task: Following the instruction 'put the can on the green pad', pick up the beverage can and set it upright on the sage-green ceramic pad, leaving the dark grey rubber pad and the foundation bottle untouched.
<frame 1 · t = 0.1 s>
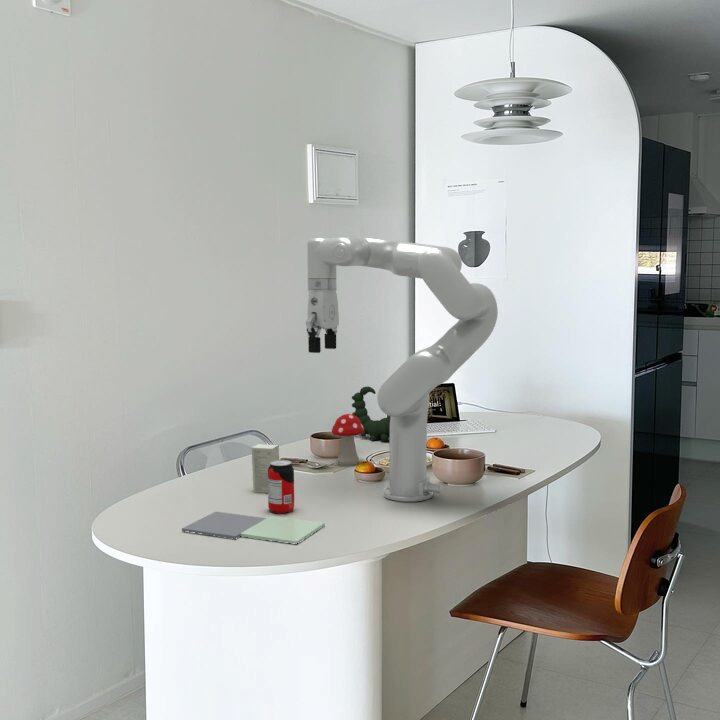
hand: (322, 350, 230), 37 cm above the table, tool pointing down, fingers open, 9 cm apart
toy figurine: (386, 441, 291), on the table
decorative mushroom: (348, 464, 259), on the table
green pad: (283, 531, 197), on the table
grey pad: (225, 526, 201), on the table
beverage can: (281, 511, 213), on the table
skincare box: (266, 491, 230), on the table
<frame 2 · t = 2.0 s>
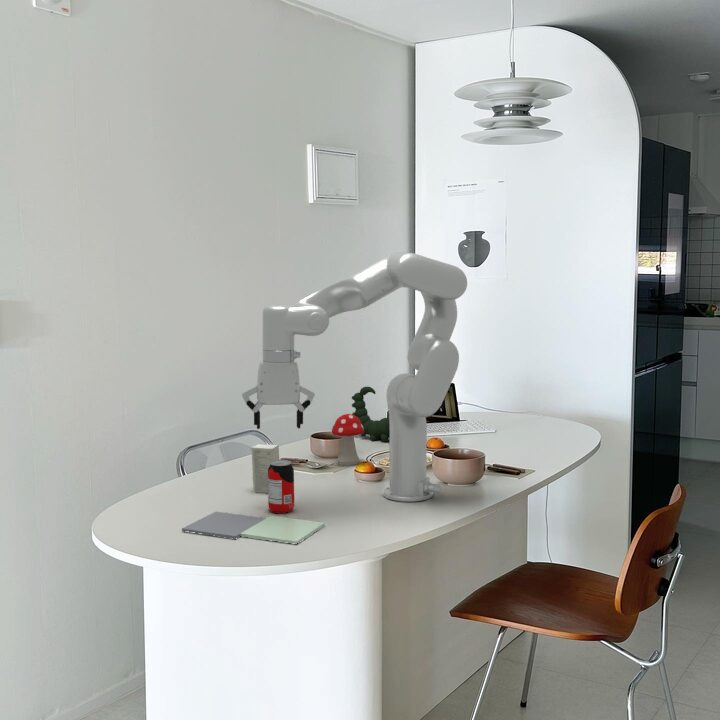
hand: (278, 427, 210), 21 cm above the table, tool pointing down, fingers open, 9 cm apart
nothing on the table moved.
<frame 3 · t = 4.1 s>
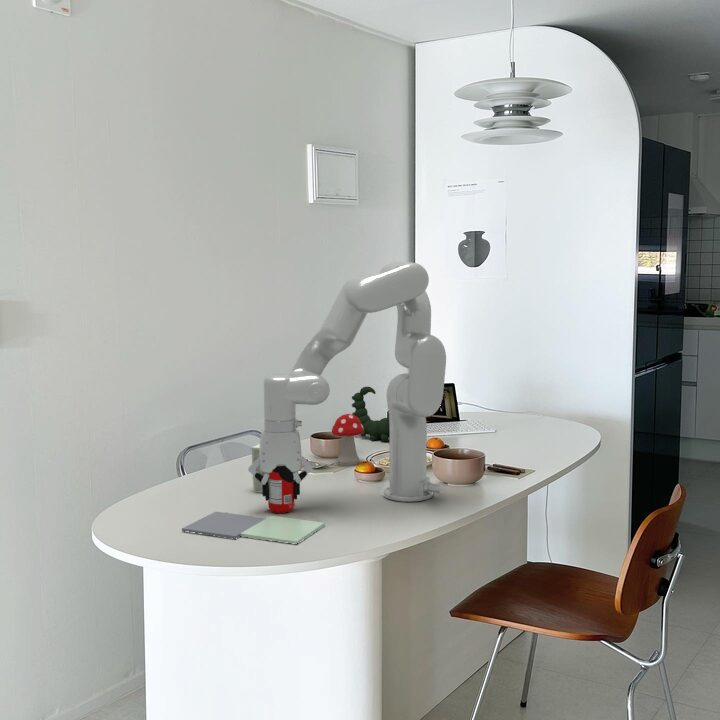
hand: (281, 497, 213), 3 cm above the table, tool pointing down, fingers closed on beverage can, 6 cm apart
beverage can: (281, 511, 213), on the table, touching gripper
everything else where it was.
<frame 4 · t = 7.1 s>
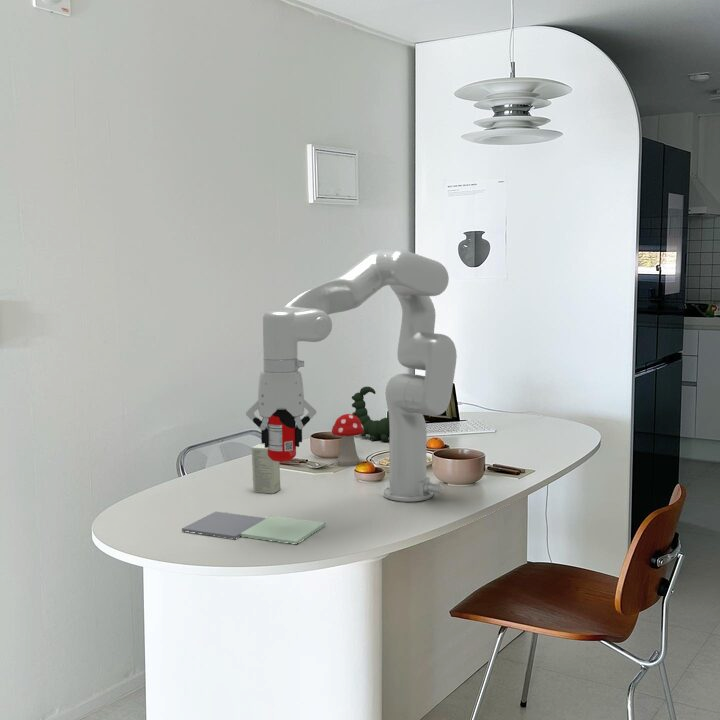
hand: (281, 445, 195), 20 cm above the table, tool pointing down, fingers closed on beverage can, 6 cm apart
beverage can: (282, 460, 196), point 16 cm above the table, touching gripper
everything else where it was.
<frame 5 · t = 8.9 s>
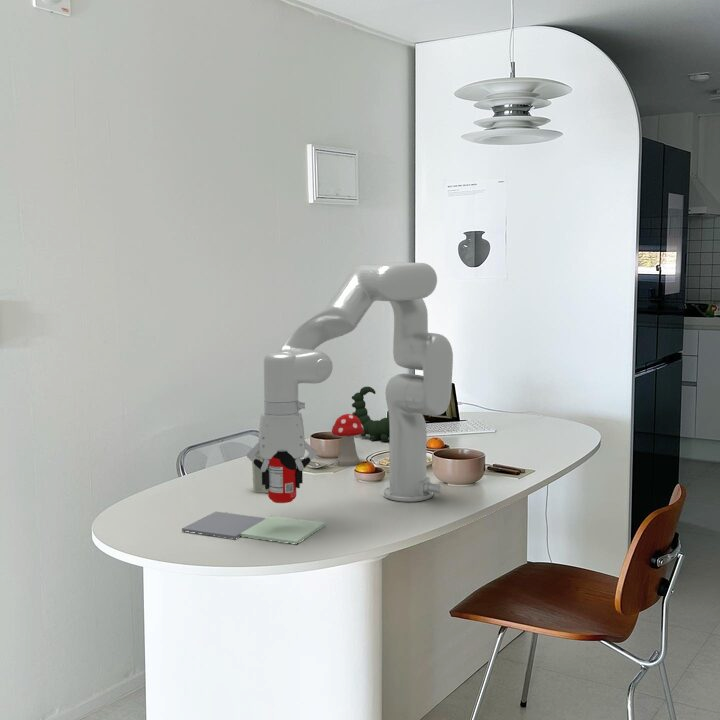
hand: (282, 486, 196), 10 cm above the table, tool pointing down, fingers closed on beverage can, 6 cm apart
beverage can: (282, 501, 196), point 7 cm above the table, touching gripper
everything else where it was.
when the fingers open (5 cm above the table, at t = 10.4 s): beverage can drops 1 cm, resting on green pad.
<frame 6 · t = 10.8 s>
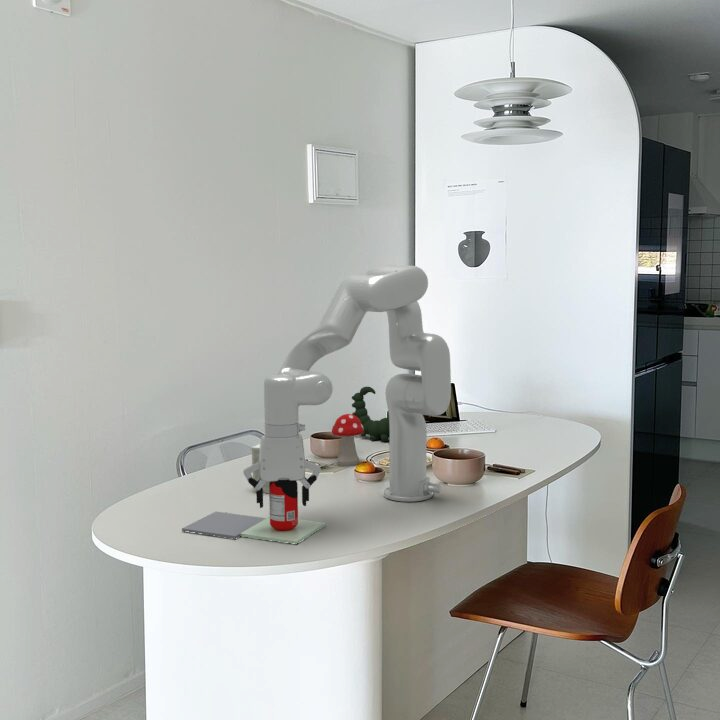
hand: (282, 505, 196), 6 cm above the table, tool pointing down, fingers open, 9 cm apart
beverage can: (284, 528, 197), point 1 cm above the table, touching green pad
everything else where it was.
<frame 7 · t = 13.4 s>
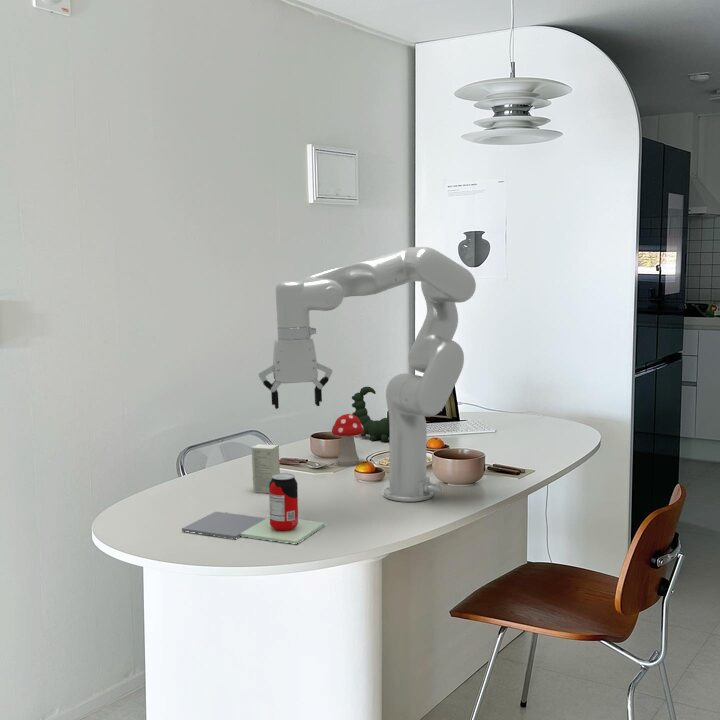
hand: (297, 406, 206), 26 cm above the table, tool pointing down, fingers open, 9 cm apart
nothing on the table moved.
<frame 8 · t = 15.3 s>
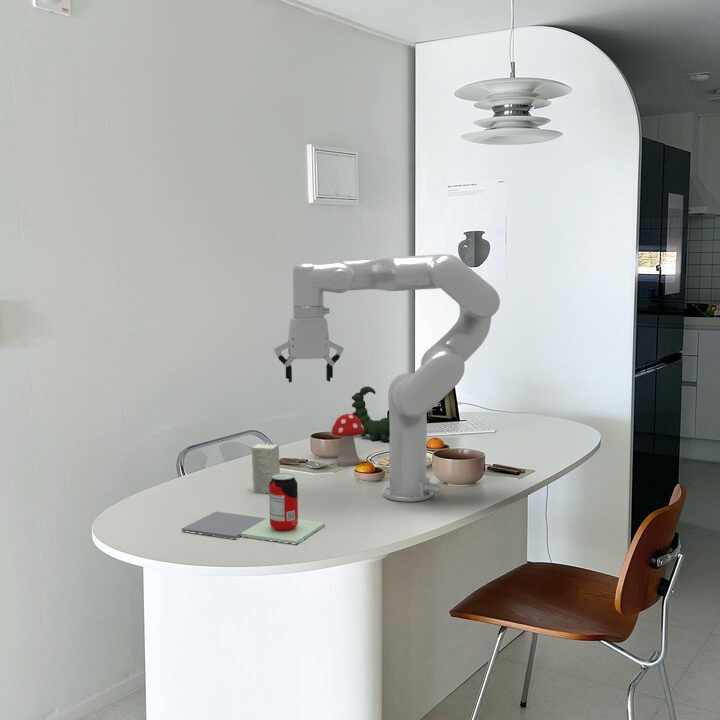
hand: (309, 381, 219), 30 cm above the table, tool pointing down, fingers open, 9 cm apart
nothing on the table moved.
at the end: beverage can inside the target area on the green pad (0.2 cm from its centre), point 0.6 cm above the green pad's base; beverage can tilted 0°; skincare box moved 0.2 cm from its start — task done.
